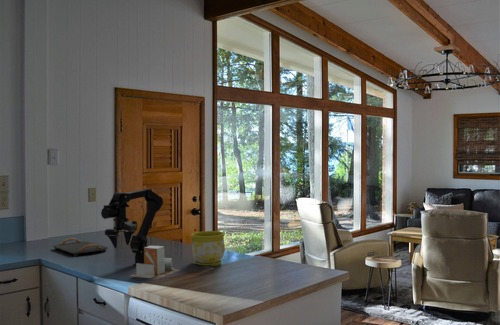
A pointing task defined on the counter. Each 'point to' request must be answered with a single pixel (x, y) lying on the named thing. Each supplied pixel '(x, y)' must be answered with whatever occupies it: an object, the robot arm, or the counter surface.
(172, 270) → the shelf board
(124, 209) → the robot arm
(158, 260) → the small box
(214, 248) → the flowerpot
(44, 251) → the counter surface
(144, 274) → the bookends
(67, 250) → the serving board
